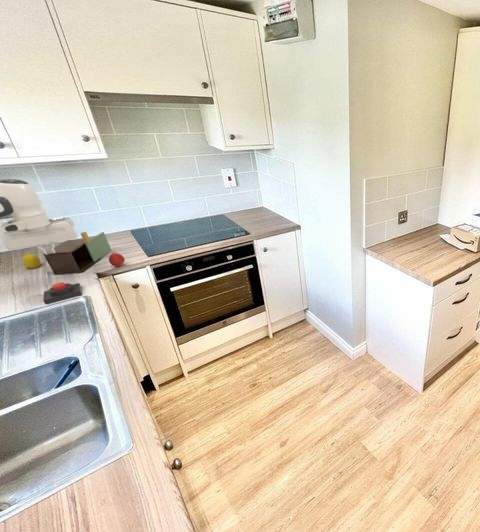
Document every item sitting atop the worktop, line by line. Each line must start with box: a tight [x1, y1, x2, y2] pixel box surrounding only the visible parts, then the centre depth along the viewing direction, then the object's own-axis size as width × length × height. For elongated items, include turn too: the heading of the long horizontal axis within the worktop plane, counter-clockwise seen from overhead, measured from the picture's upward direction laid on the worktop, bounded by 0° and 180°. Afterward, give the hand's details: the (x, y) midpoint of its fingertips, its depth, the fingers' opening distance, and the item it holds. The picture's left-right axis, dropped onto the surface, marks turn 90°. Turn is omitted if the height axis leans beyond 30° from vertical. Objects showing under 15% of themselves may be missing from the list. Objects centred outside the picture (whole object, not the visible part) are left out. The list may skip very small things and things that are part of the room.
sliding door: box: [80, 231, 112, 262], centre depth 164 cm, size 15×1×15 cm, turn 13°
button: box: [51, 281, 67, 291], centre depth 133 cm, size 4×4×2 cm
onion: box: [108, 251, 126, 267], centre depth 157 cm, size 6×6×8 cm
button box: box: [42, 282, 83, 306], centre depth 134 cm, size 11×9×4 cm
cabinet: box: [43, 238, 103, 276], centre depth 156 cm, size 16×11×11 cm
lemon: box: [21, 253, 42, 269], centre depth 153 cm, size 6×6×8 cm
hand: (50, 253), depth 132 cm, fingers closed
